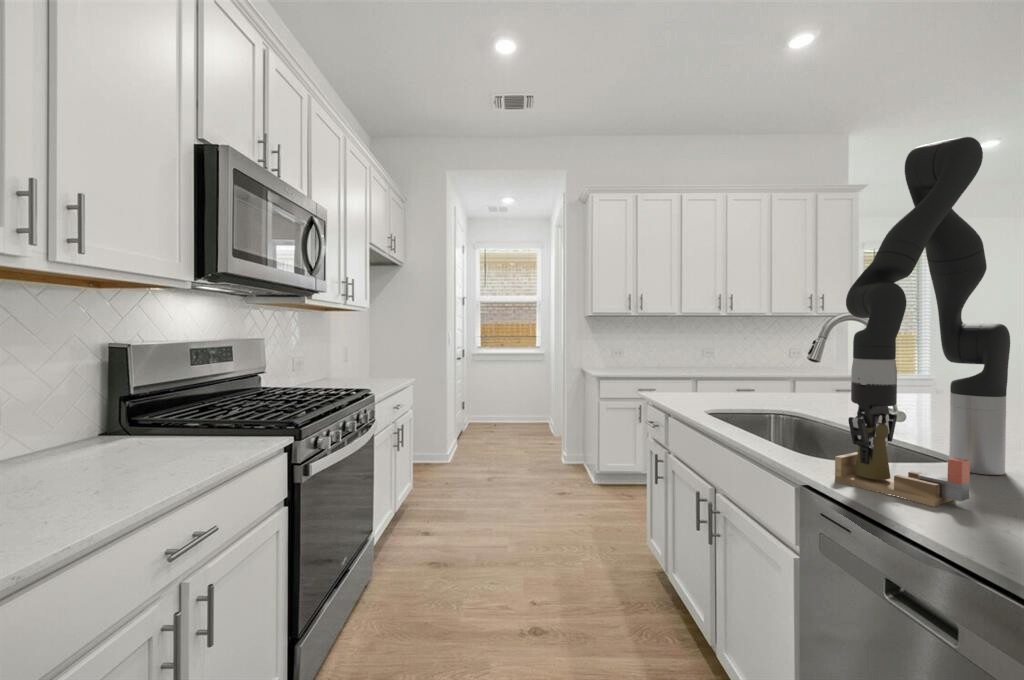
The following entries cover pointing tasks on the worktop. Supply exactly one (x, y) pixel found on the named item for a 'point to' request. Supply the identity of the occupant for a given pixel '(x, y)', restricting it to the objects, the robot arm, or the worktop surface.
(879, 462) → the olive rounded piece
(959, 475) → the red grey l-shaped block
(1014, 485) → the worktop surface
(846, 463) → the light brown wooden holder
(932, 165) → the robot arm
